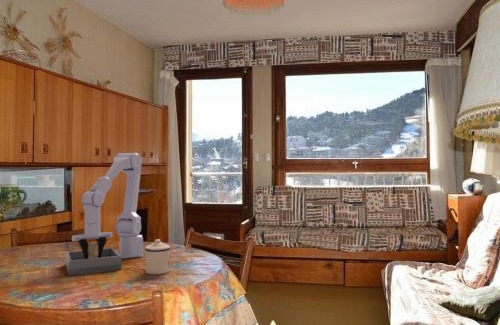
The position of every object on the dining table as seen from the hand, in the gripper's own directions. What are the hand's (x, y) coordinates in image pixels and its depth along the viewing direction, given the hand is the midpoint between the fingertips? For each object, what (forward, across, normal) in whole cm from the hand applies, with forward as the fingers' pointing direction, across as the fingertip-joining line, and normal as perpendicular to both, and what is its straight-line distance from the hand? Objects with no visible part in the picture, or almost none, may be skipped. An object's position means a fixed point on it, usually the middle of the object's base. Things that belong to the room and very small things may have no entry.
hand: (92, 258), depth 160 cm
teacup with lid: (+4, -17, +20) cm, 27 cm away
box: (+3, 0, 0) cm, 3 cm away
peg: (+2, 0, 0) cm, 3 cm away
